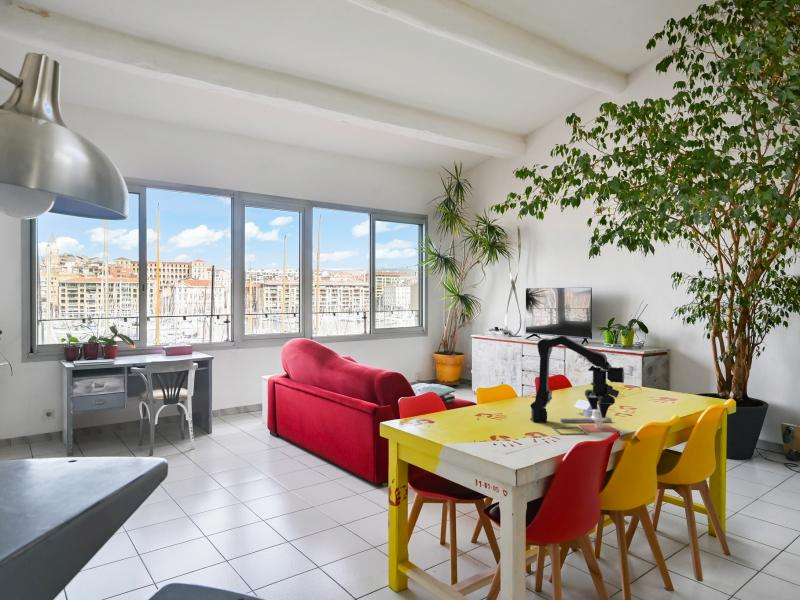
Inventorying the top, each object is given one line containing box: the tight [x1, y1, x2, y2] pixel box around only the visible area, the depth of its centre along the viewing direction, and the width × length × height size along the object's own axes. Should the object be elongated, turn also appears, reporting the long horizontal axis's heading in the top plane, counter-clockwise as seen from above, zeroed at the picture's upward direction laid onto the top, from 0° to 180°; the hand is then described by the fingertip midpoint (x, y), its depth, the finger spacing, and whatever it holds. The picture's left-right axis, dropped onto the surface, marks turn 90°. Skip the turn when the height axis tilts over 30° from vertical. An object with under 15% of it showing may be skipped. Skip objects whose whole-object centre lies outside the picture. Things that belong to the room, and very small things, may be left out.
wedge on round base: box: [573, 398, 600, 418], centre depth 266 cm, size 9×7×13 cm
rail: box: [560, 417, 612, 424], centre depth 251 cm, size 24×2×2 cm, turn 93°
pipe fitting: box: [589, 409, 608, 429], centre depth 239 cm, size 6×7×8 cm
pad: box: [578, 423, 621, 433], centre depth 239 cm, size 14×12×1 cm
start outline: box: [551, 426, 589, 436], centre depth 234 cm, size 12×11×1 cm
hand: (599, 415), depth 239 cm, fingers open, 9 cm apart
